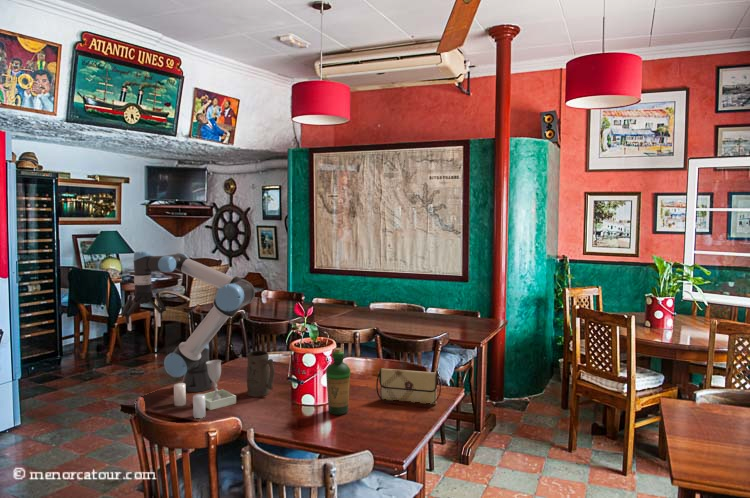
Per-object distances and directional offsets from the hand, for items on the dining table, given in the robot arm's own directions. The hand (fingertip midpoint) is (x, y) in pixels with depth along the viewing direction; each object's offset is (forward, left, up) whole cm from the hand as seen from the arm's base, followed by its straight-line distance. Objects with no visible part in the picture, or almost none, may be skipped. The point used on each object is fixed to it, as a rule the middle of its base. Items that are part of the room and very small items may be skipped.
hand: (144, 328), depth 261 cm
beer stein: (-41, +38, -32) cm, 64 cm away
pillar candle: (-6, +45, -32) cm, 55 cm away
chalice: (-19, +35, -31) cm, 50 cm away
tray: (-19, +35, -32) cm, 51 cm away
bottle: (-53, +81, -32) cm, 102 cm away
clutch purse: (-83, +94, -32) cm, 130 cm away
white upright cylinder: (-6, +25, -32) cm, 41 cm away
